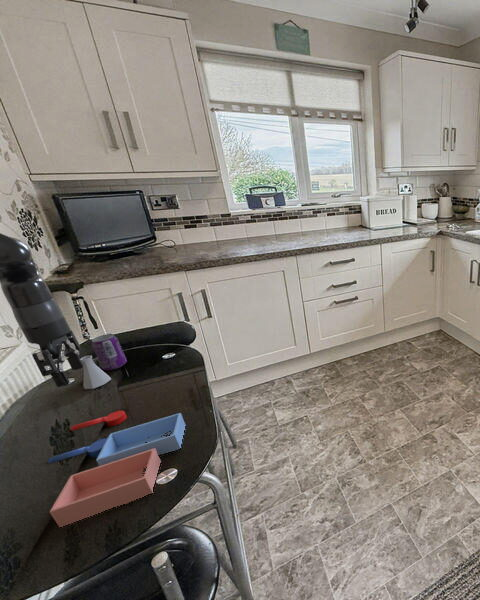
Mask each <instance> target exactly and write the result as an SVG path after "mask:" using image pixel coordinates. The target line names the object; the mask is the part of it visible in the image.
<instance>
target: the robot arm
mask: <svg viewBox="0 0 480 600" xmlns="http://www.w3.org/2000/svg"><path fill="white" fill-rule="evenodd" d="M0 288H1V291H2V294H3V295H4V297H5V299H6V302H7V303H8V305H9V306H10V308H11V311H12V315H13V317H14V319H15V321H16V322H17V324H18V326H19V328H20V330H21V332H22V333H23V335H24V338H25V339H26V341H27V342H28V343H29V344H32V345H38V346H39V351H37V352H33V353H32V358H33V360H34V362H35V364H36V366H37V368H38V370H39V372H40V374H41V376H42V377H48V376H51V378H52V380H53V382H54V383H55V385H56V387H58V388H60V387H65V386H68V385H69V384H71V383H70V382H71V381H70V379H69V377H68V376H67V374H66V372H65V370H64V365H63V364H64V363H65V362H66V360H67V362H68V364H69V366H70V368H71V370H73V371H76V370H81V369H84V367H83V363H82V361H81V358H80V350H82V347H81V345H80V343H79V341H78V339H77V337H76V336H75V334H74V332H73V330H72V329H71V327H70V325H69V324H68V321H67V318H66V317H65V315H64V313H63V311H62V309H61V307H60V305H59V304H58V302H57V300H56V299H55V298H54V295H53V294H52V292H51V290H50V288H49V286H48V284H47V283H46V281H45V280H44V279H43V277H42V276H41V274H40V272H39V270H38V268H37V265H36V262H35V260H34V258H33V256H32V251H31V249H30V248H29V246H28V245H27V244H26V243H25V242H23V241H22V240H20V239H18V238H15V237H13V236H9V235H6V234H3V233H1V232H0Z"/></svg>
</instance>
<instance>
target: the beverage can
mask: <svg viewBox="0 0 480 600" xmlns="http://www.w3.org/2000/svg"><path fill="white" fill-rule="evenodd" d="M91 342H92V343H91V348H92V349H93V352H94V354H95V356H96V358H97V360H98V362H99V364H100V367H101V368H102V369H101V370H102V371H113V369H114V370H117V369H119V368H121V367H123V366H124V365H125V364H126V363H127V362H128V360H127V357H126V355H125V353H124V351H123V348H122V346H121V344H120V342H119V339H118V337H116V336H115V334H114V333H105V334H102V335H98V336H96V337H94V338H92V339H91Z"/></svg>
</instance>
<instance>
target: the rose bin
mask: <svg viewBox="0 0 480 600" xmlns="http://www.w3.org/2000/svg"><path fill="white" fill-rule="evenodd" d="M161 462H162V460H161V458H160V457H159V456H158V453H157V451H156V449H155V448H154V449H151V450H148V451H145V452H141V453H138V454H135V455H132V456H129V457H126V458H123V459H120V460H117V461H114V462H111V463H108V464H105V465H102V466H99V465H98V466H95V467H92V468H90V469H86V470H82V471H80V472H78V473H74V474H71V475H69V478H68V479H67V481H66V483H65V485H64V487H63V488H62V490H61V492H60V493H59V495H58V497H56V500H55V501H54V503H53V505H52V507H51V508H50V510H49V514H50V515H51V517H52V518H53V520H54V521H55V522H56V524H57V526H58V527H59V528H60V527H62V528H64V527H63V526H65V525H68V524H70V525H72V524H71V523H73V522H76V521H79V520H81V521H83V520H82V519H84V518H87V517H89V518H91V517H90V516H92V517H94V516H93V515H95V514H97V515H99V514H98V513H100V514H102V513H101V512H103V511H105V510H108V509H111V508H113V507H116V508H118V507H117V506H119V507H121V506H120V505H122V506H124V505H123V504H125V505H128V504H130V503H132V502H131V501H133V502H135V501H137V500H136V499H138V500H140V499H139V498H141V499H143V498H142V497H144V496H146V495H148V494H151V493H153V494H154V492H153V487H154V484H155V480H156V477H157V473H158V470H159V466H160V463H161ZM146 467H147V468H146ZM143 468H146V471H145V472H143V470H144V469H143ZM142 473H145V474H142ZM143 475H144V476H143ZM146 497H147V496H146ZM144 498H145V497H144ZM134 500H135V501H134ZM129 502H130V503H129ZM111 510H112V509H111ZM108 511H109V510H108ZM103 513H104V512H103ZM95 516H96V515H95ZM87 519H88V518H87ZM84 520H85V519H84ZM79 522H80V521H79ZM76 523H77V522H76ZM73 524H74V523H73ZM68 526H69V525H68ZM65 527H66V526H65Z"/></svg>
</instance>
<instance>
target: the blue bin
mask: <svg viewBox="0 0 480 600" xmlns="http://www.w3.org/2000/svg"><path fill="white" fill-rule="evenodd" d="M185 426H186V427H187V425H186V421H184V418H183V414H182V413H181V412H179V413H176V414H172V415H169V416H165V417H162V418H158V419H155V420H152V421H149V422H148V421H147V422H145V423H141V424H139V425H135V426H132V427H129V428H125V429H121V430H119V431H115V432H112V433H110V434H109V435H108V437H107V438H108V439H107V441H106V442H105V444H104V446H103V448H102V450H101V452H100V454H99V456H98V457H96V460H95V461H96V463H97V465H98V467H99V466H102V465H105V464H108V463H111V462H114V461H117V460H120V459H123V458H126V457H129V456H132V455H135V454H138V453H141V452H145V451H148V450H151V449H154V448H155V449H156V451H157V453H158V455H160V454H164V453H168V452H171V451H175V450H178V449H180V448H181V449H182V447H181V444H182V445H183V442H182V439H183V440H184V438H183V435H184V436H185V433H184V430H185V431H186V429H185ZM169 431H171V432H172V433H171V432H169ZM167 432H168V433H167ZM165 433H167V434H168V435H169V434H170V433H171V434H170V436H167V437H166V436H163V435H167V434H165ZM161 436H162V437H161ZM148 437H149V438H148ZM145 442H147V443H145ZM178 451H179V450H178ZM175 452H176V451H175Z"/></svg>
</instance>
